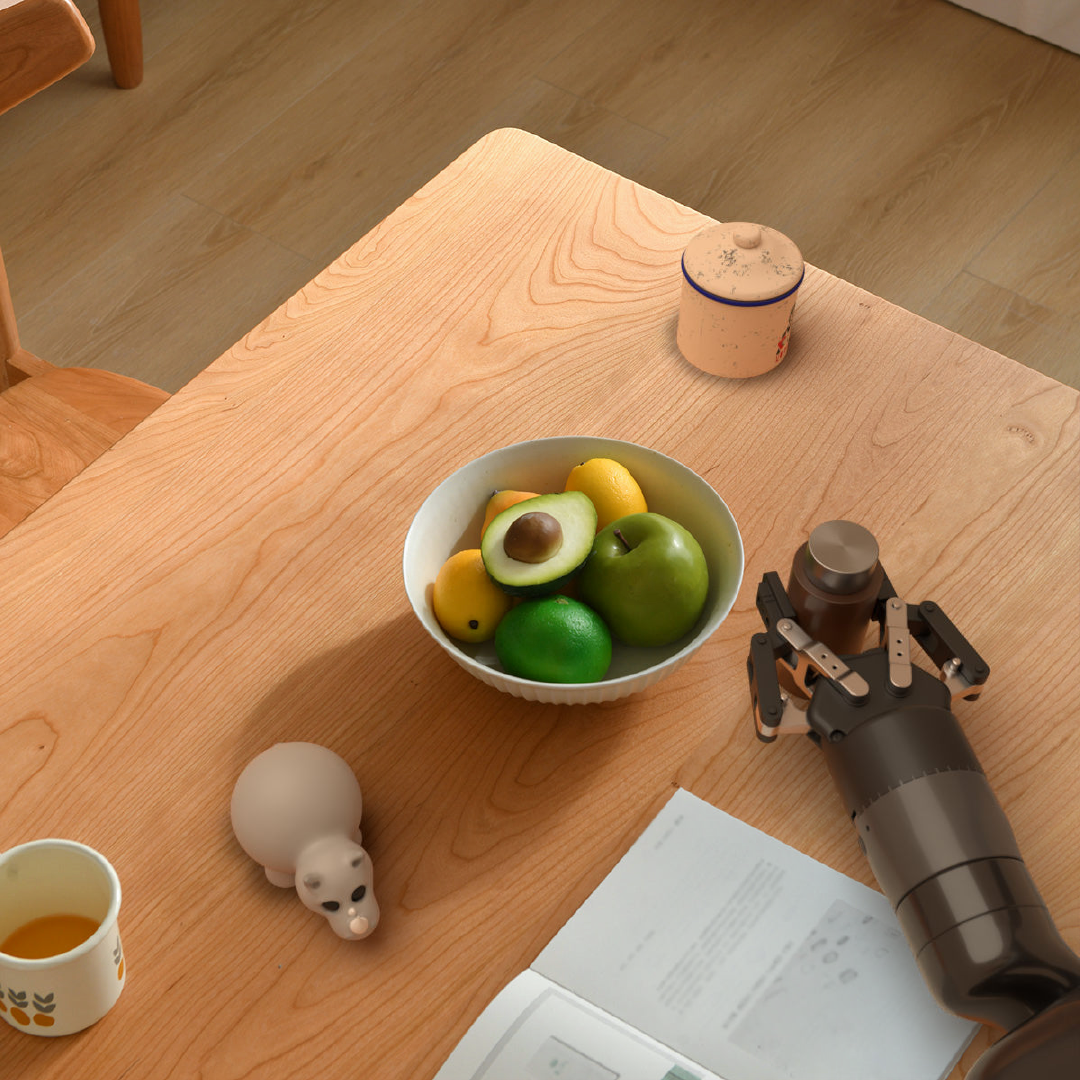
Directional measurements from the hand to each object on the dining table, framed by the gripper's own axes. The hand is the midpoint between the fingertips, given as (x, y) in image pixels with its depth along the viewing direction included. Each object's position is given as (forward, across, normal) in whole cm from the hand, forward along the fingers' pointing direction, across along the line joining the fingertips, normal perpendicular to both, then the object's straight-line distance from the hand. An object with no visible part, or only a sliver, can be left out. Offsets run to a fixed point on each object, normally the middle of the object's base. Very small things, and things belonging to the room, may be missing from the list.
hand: (812, 572), depth 83 cm
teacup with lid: (+29, -5, +8) cm, 31 cm away
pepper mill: (-3, 0, +8) cm, 8 cm away
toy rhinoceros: (-10, +32, +8) cm, 34 cm away
